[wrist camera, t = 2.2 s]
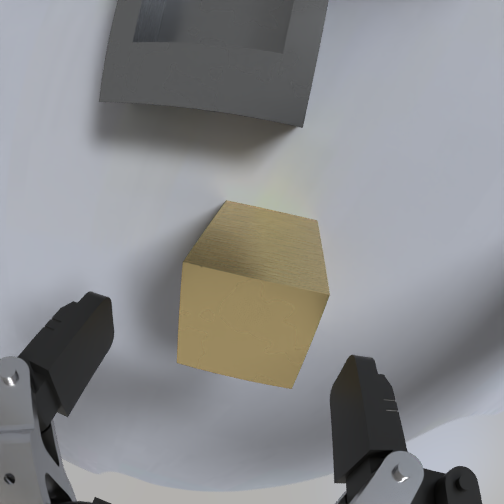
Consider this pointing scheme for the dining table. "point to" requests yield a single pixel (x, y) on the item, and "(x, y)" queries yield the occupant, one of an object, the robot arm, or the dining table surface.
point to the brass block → (252, 295)
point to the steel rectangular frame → (216, 55)
